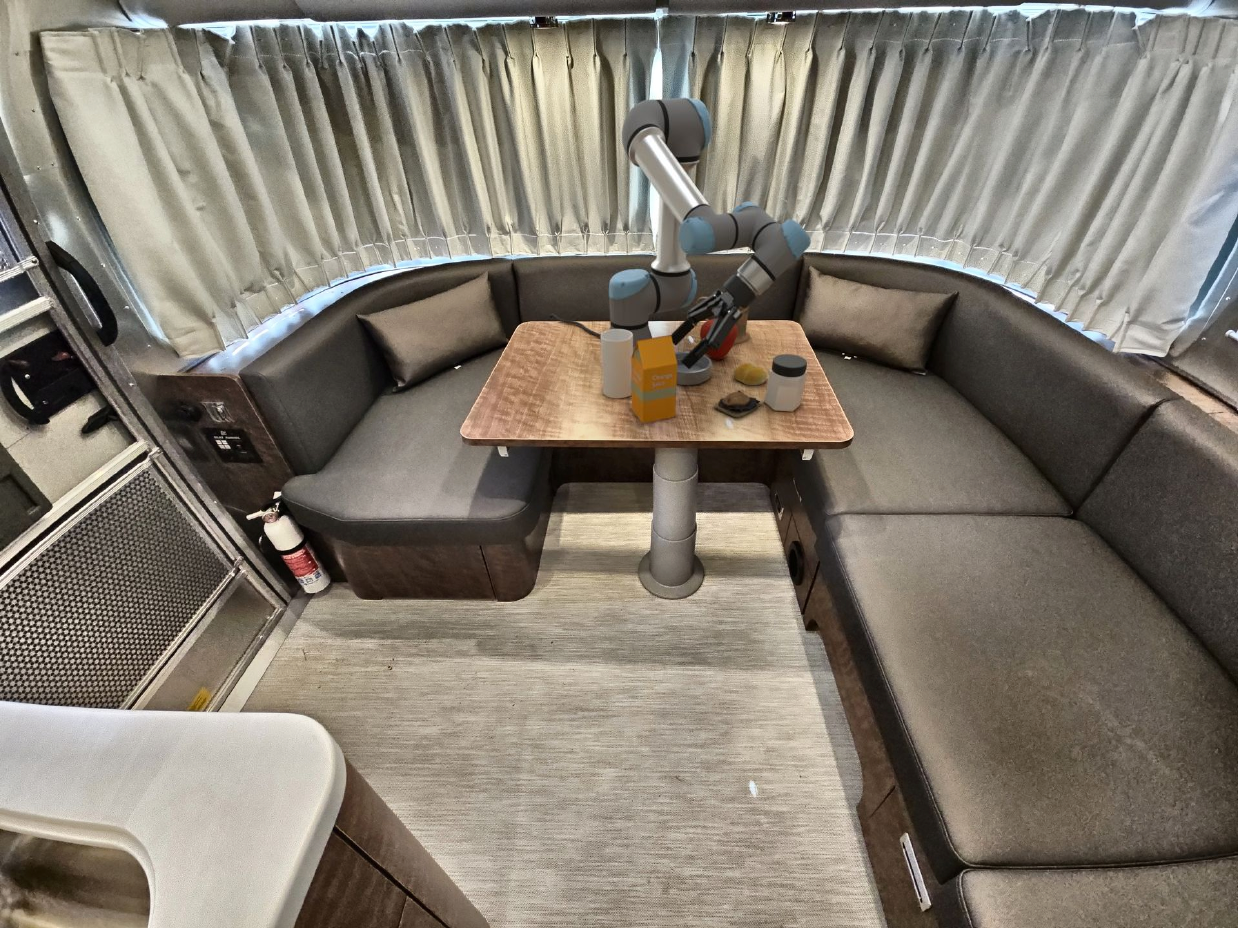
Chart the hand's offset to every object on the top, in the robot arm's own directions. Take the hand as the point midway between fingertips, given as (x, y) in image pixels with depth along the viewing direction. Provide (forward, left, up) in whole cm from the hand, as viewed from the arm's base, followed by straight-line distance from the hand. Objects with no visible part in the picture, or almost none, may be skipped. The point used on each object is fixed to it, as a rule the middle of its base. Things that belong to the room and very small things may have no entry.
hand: (677, 353), depth 126 cm
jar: (+14, +24, -16) cm, 32 cm away
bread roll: (-1, +28, -16) cm, 32 cm away
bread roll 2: (+8, +14, -16) cm, 23 cm away
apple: (-17, +31, -16) cm, 39 cm away
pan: (-14, +16, -16) cm, 26 cm away
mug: (-28, +44, -16) cm, 55 cm away
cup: (-18, -5, -16) cm, 24 cm away
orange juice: (-3, -5, -16) cm, 17 cm away
